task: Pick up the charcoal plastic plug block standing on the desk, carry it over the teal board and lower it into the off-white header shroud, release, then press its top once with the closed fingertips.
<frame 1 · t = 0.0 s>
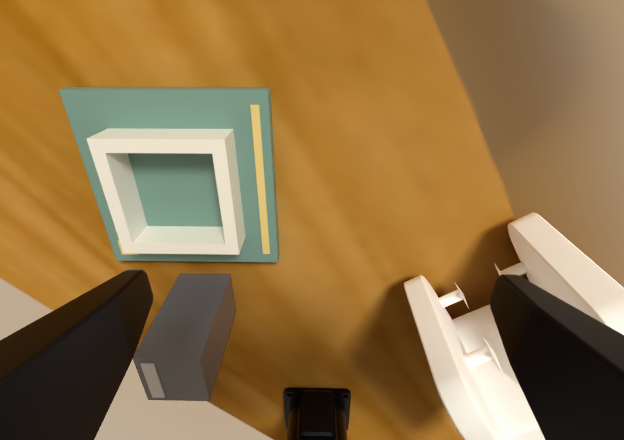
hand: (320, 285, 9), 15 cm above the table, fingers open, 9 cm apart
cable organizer: (489, 294, 28), on the table
socket: (176, 193, 22), on the board, point 2 cm above the table
plug: (209, 293, 28), on the table
board: (187, 180, 23), on the table
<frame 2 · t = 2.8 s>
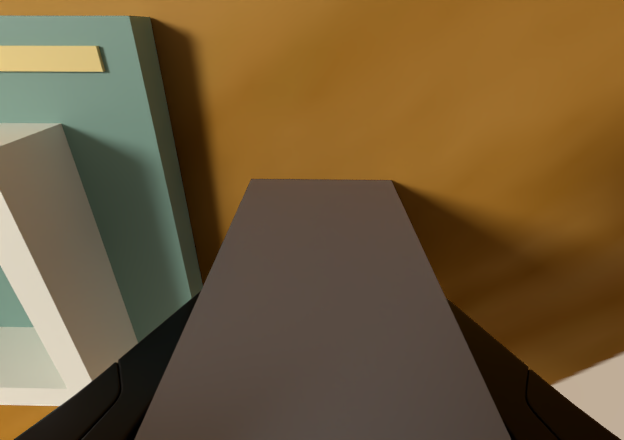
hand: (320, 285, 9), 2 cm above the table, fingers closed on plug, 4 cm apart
plug: (320, 238, 11), on the table, touching gripper
board: (5, 235, 11), on the table
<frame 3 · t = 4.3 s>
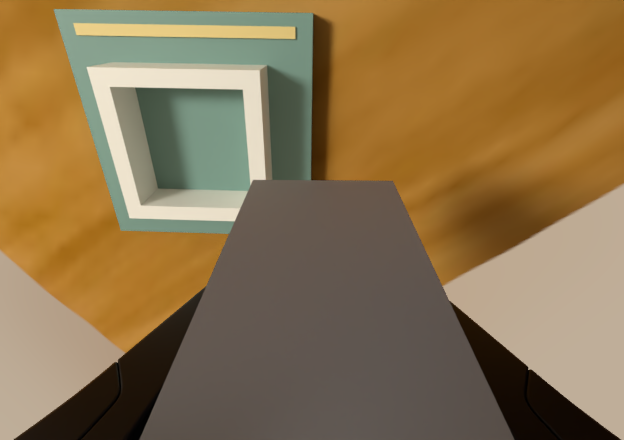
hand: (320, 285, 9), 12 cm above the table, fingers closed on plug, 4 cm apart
socket: (194, 146, 18), on the board, point 2 cm above the table
plug: (321, 239, 11), point 10 cm above the table, touching gripper
board: (206, 134, 20), on the table
when the fingers open (4 cm above the table, at t = 6.0 s): plug stays where it is, resting on board.
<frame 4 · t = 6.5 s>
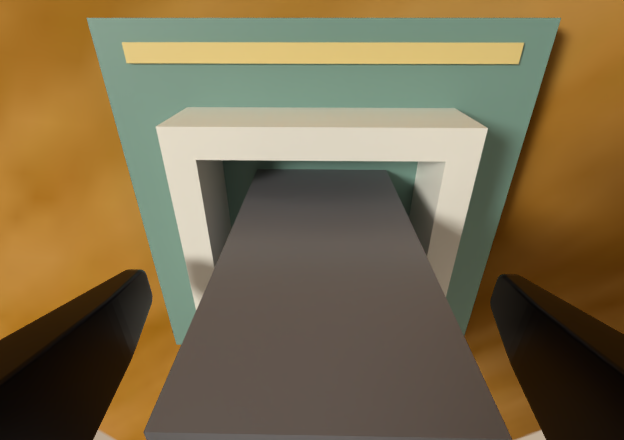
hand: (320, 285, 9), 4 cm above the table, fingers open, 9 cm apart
socket: (318, 241, 11), on the board, point 2 cm above the table
plug: (320, 225, 12), point 1 cm above the table, touching board
board: (318, 209, 13), on the table
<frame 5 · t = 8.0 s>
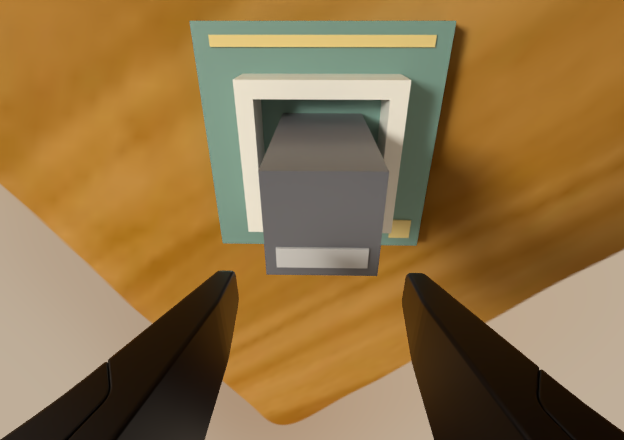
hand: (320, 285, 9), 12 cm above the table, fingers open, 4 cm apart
socket: (320, 157, 18), on the board, point 2 cm above the table
plug: (321, 151, 19), point 1 cm above the table, touching board
board: (320, 144, 19), on the table
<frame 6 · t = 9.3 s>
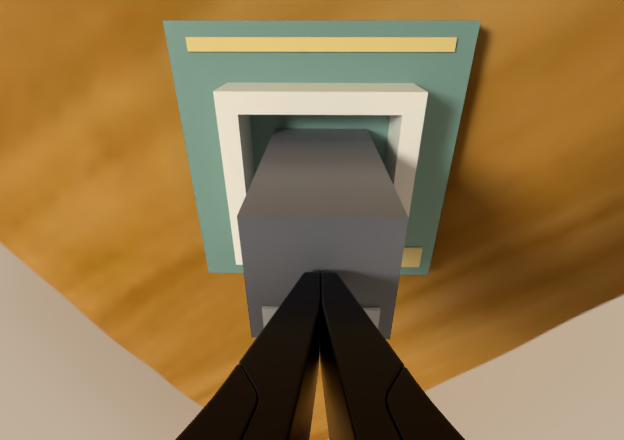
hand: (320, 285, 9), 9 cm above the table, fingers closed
socket: (319, 179, 15), on the board, point 2 cm above the table
plug: (320, 171, 16), point 1 cm above the table, touching board
board: (319, 163, 17), on the table
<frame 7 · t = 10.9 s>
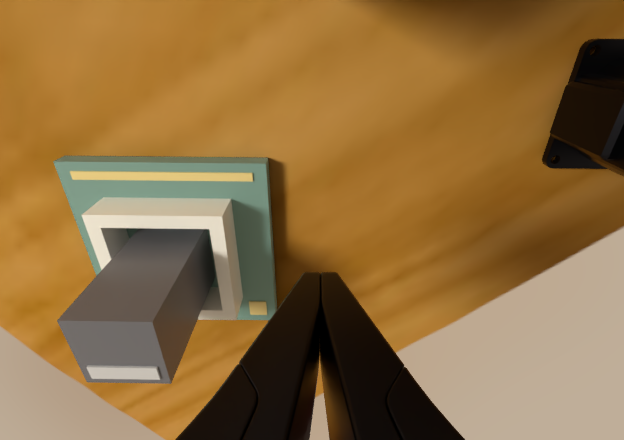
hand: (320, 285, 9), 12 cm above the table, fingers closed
socket: (172, 261, 21), on the board, point 2 cm above the table
plug: (180, 251, 22), point 1 cm above the table, touching board
board: (184, 242, 23), on the table
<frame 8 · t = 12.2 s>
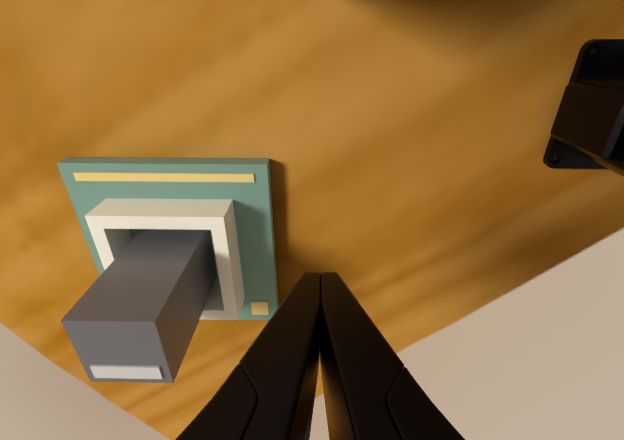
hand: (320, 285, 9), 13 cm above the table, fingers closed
socket: (174, 261, 22), on the board, point 2 cm above the table
plug: (182, 252, 23), point 1 cm above the table, touching board
board: (186, 243, 23), on the table
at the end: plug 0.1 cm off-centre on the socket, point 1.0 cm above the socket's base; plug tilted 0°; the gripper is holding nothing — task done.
